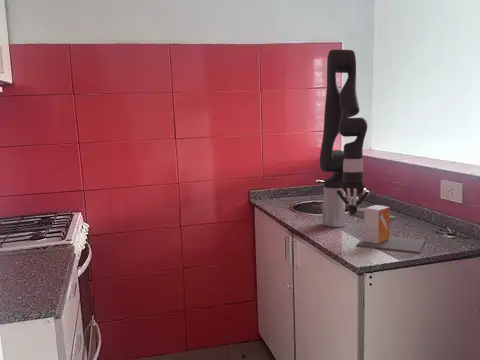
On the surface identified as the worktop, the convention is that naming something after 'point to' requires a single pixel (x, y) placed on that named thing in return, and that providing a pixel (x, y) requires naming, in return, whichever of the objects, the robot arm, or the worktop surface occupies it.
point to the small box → (376, 224)
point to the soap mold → (361, 214)
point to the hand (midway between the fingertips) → (353, 214)
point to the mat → (396, 244)
